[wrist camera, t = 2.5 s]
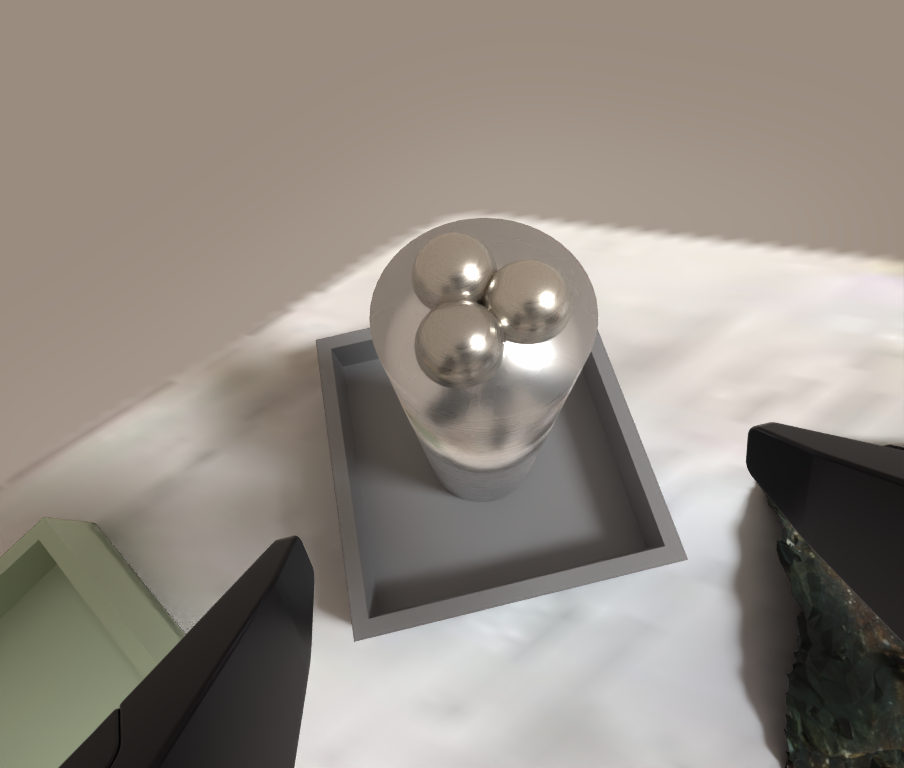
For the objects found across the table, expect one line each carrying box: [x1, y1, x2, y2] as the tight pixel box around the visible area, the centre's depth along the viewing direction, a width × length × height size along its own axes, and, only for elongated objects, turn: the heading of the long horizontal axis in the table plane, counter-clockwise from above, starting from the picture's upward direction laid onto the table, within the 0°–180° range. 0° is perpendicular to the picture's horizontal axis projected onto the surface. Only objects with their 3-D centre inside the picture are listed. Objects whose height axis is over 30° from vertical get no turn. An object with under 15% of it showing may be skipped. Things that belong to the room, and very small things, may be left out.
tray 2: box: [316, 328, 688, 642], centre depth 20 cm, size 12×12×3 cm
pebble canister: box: [370, 218, 598, 502], centre depth 14 cm, size 5×5×13 cm
